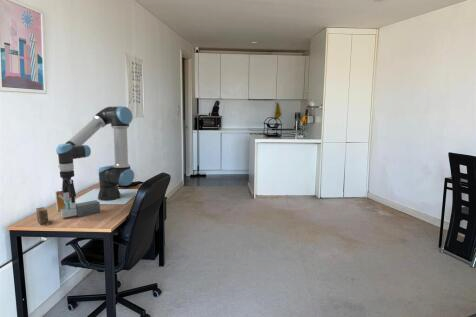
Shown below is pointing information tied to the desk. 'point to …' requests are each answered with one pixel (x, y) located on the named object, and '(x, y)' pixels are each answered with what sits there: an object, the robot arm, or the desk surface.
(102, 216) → the desk surface
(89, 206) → the grey rectangular block
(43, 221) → the socket
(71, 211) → the teal-ended white column
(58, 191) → the small box
